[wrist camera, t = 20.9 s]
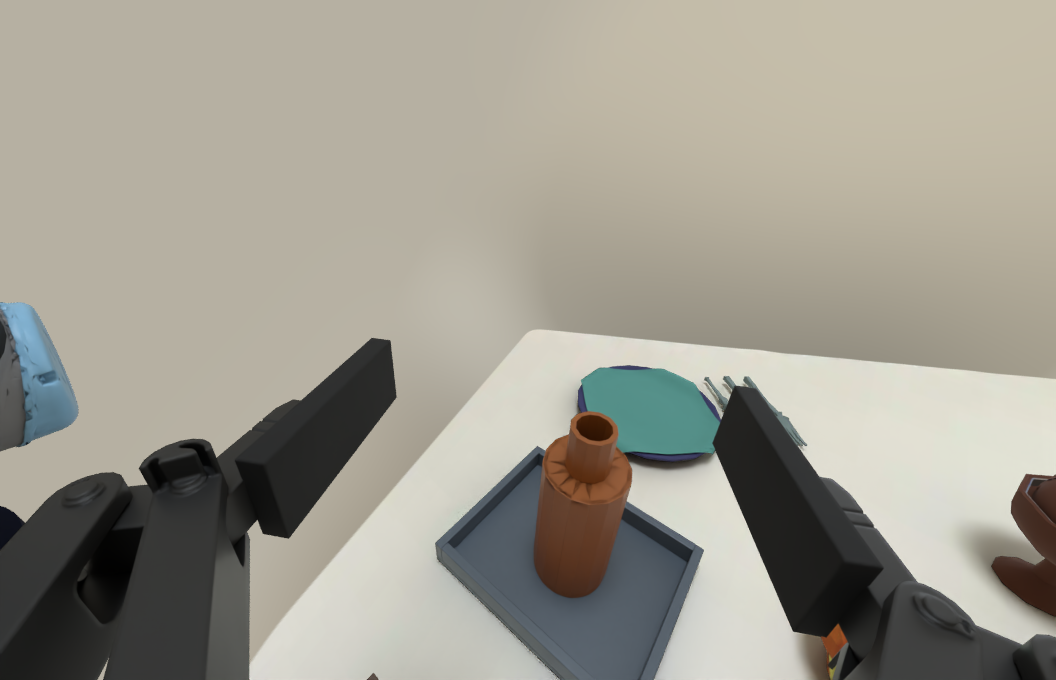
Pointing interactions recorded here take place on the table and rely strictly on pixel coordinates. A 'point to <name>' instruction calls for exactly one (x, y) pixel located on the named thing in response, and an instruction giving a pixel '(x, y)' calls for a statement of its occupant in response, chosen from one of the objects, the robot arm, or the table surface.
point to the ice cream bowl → (1033, 543)
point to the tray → (561, 622)
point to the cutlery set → (659, 411)
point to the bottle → (580, 505)
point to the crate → (373, 677)
